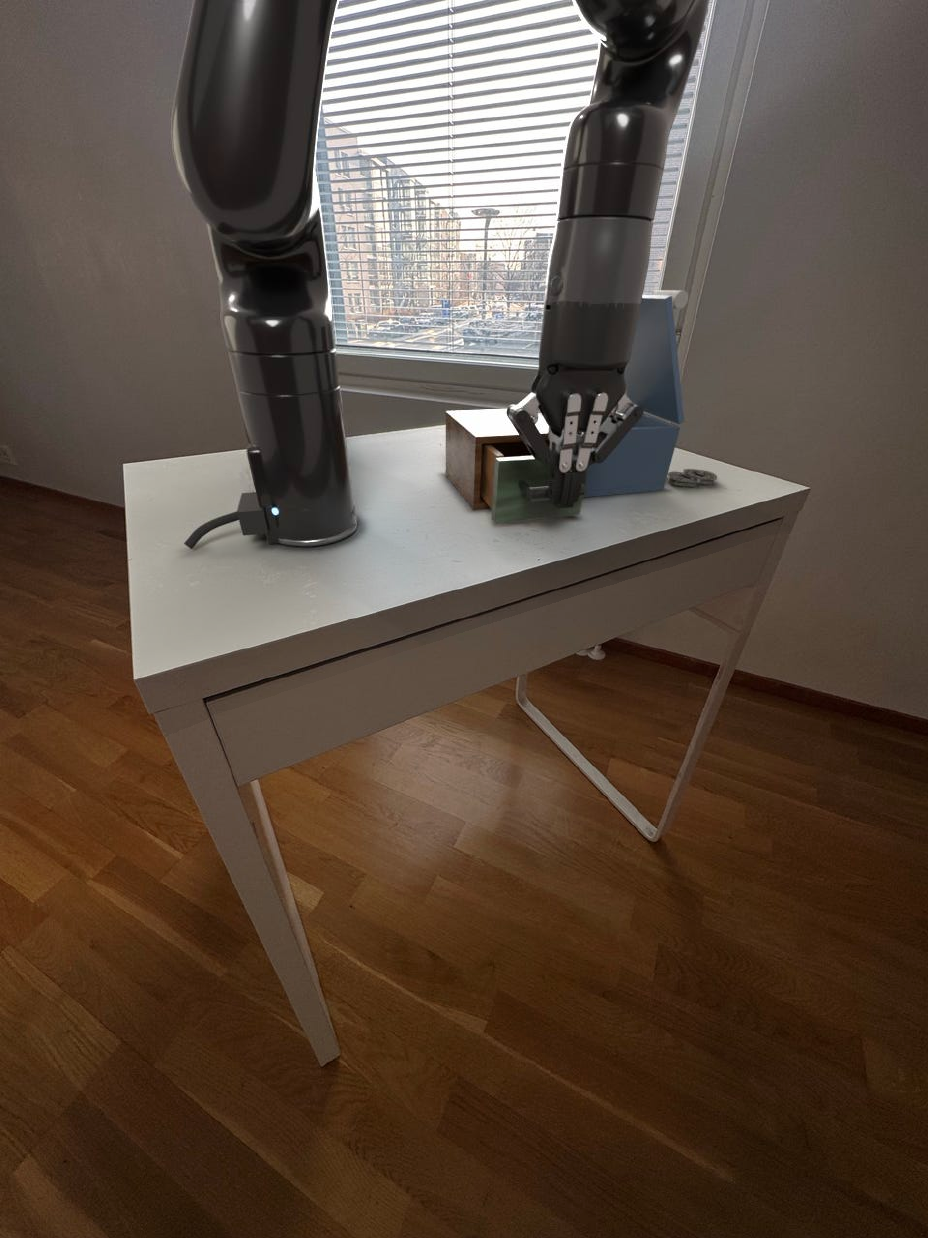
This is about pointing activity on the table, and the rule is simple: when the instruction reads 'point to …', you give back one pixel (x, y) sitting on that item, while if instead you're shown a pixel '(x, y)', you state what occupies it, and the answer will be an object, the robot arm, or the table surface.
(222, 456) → the table surface
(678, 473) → the corroded twin loop
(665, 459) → the chest
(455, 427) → the cabinet
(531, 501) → the drawer
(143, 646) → the table surface
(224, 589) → the table surface
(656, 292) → the lid
